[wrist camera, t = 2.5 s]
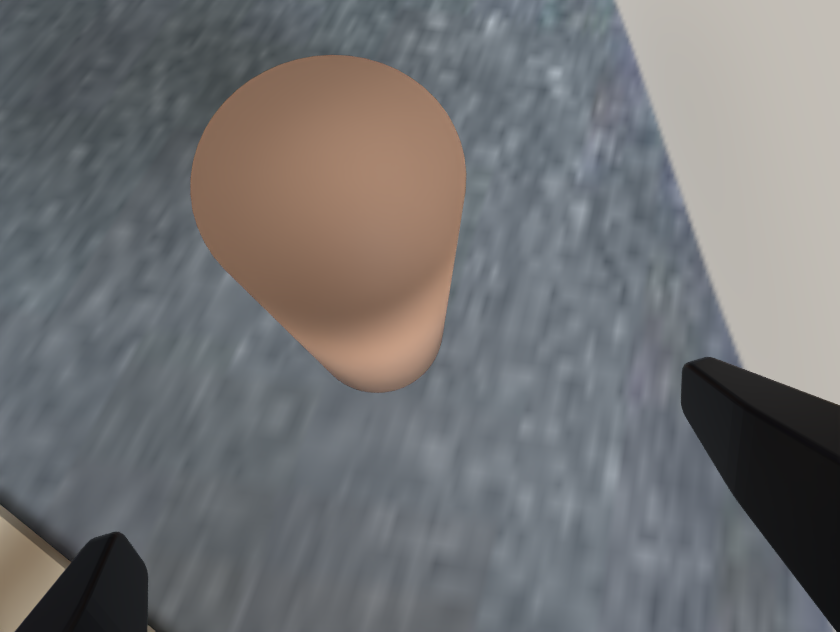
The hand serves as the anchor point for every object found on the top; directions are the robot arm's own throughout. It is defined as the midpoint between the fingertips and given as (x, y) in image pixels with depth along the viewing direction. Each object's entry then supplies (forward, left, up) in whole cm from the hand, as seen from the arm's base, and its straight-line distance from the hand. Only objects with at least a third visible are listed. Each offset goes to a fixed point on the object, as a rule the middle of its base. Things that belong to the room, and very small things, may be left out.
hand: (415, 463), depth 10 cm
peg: (+5, -2, -12) cm, 13 cm away
